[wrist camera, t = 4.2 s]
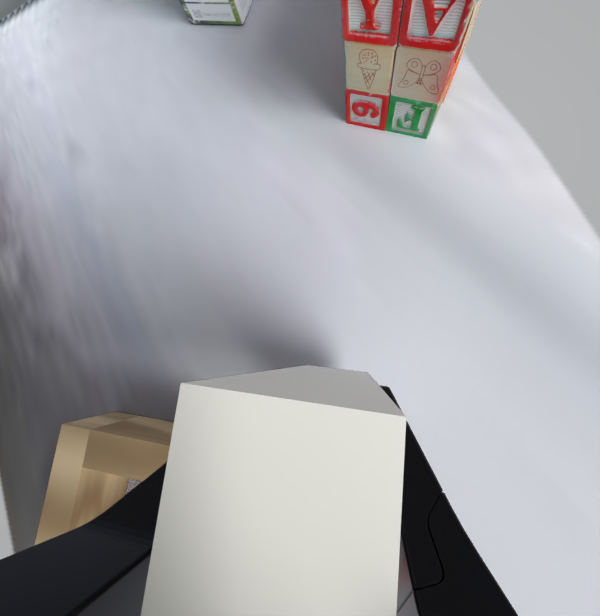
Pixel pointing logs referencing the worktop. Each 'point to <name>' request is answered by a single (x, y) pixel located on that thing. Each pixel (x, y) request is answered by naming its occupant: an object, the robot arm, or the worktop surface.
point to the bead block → (99, 467)
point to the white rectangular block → (280, 498)
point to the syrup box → (216, 11)
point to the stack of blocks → (402, 60)
